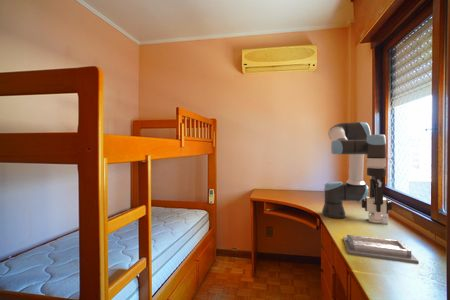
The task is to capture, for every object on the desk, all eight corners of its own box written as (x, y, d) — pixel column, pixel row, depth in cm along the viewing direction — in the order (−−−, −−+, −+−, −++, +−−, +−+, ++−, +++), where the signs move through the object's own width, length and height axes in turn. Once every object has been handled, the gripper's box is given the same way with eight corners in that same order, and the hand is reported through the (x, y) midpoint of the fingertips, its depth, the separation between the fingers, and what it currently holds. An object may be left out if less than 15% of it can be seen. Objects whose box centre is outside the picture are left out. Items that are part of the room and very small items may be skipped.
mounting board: (342, 238, 124) (342, 237, 124) (402, 245, 115) (402, 243, 115) (348, 253, 106) (348, 251, 106) (418, 263, 97) (418, 261, 97)
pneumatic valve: (361, 218, 116) (361, 193, 116) (390, 221, 110) (390, 196, 110) (361, 221, 111) (361, 195, 111) (392, 225, 105) (392, 198, 105)
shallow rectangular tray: (346, 239, 121) (346, 234, 121) (401, 245, 113) (401, 240, 112) (350, 249, 109) (350, 243, 109) (411, 257, 101) (411, 251, 101)
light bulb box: (387, 222, 153) (387, 205, 153) (388, 225, 147) (388, 207, 147) (368, 219, 158) (368, 203, 158) (368, 222, 152) (368, 205, 152)
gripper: (363, 166, 121) (363, 211, 121) (371, 168, 103) (371, 221, 103) (380, 166, 118) (380, 212, 118) (391, 169, 101) (391, 223, 101)
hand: (376, 216), depth 111 cm, fingers closed on pneumatic valve, 5 cm apart
